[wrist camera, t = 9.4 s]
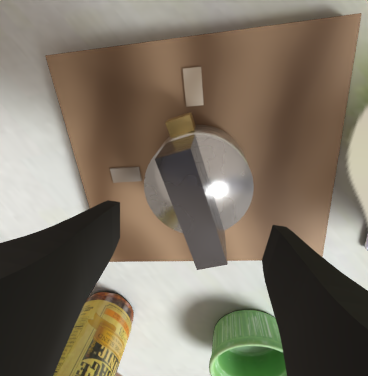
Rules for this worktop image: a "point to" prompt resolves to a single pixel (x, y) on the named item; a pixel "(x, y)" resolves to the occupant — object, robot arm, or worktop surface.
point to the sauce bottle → (97, 337)
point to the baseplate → (214, 124)
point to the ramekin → (247, 346)
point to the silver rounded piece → (199, 187)
